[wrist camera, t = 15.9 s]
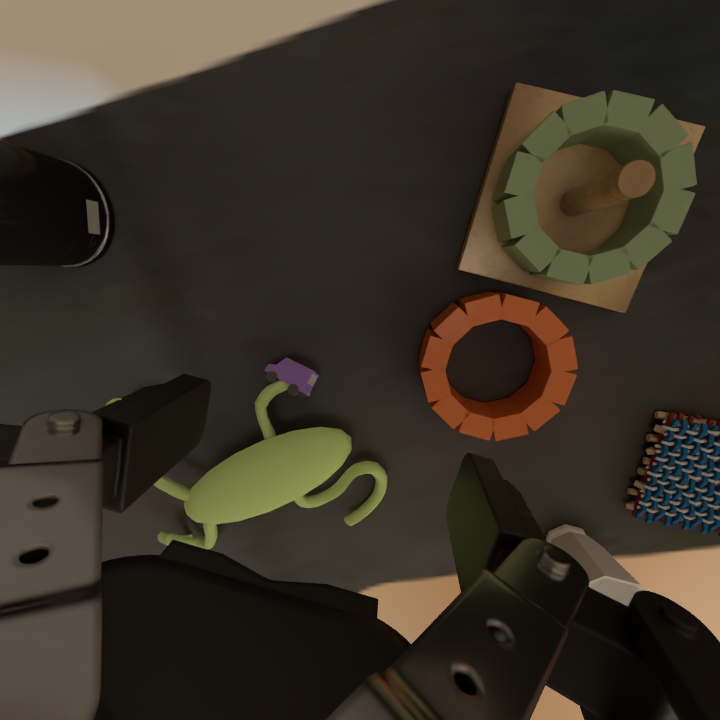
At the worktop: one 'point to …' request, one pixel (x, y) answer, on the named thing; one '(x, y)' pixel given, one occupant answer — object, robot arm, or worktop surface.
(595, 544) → the cup
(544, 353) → the orange ring
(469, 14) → the worktop surface
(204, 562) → the robot arm
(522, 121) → the ring stand
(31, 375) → the worktop surface
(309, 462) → the figurine
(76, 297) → the worktop surface
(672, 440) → the woven mat
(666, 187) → the green ring
